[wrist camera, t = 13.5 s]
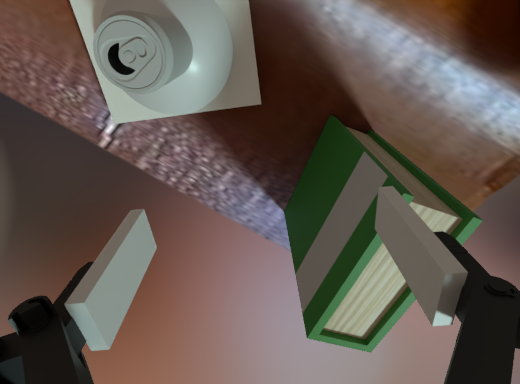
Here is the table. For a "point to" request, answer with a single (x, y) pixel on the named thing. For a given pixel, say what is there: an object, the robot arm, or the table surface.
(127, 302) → the robot arm
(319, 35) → the table surface
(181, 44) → the beverage can
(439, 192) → the hardback book
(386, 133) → the table surface
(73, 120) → the table surface
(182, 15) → the kitchen scale
